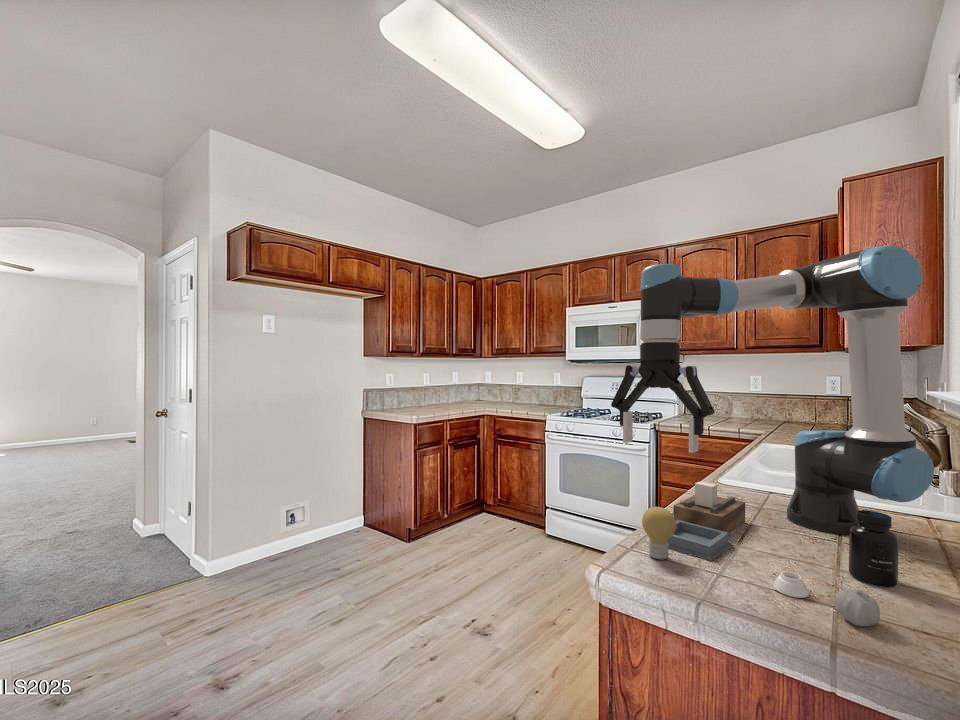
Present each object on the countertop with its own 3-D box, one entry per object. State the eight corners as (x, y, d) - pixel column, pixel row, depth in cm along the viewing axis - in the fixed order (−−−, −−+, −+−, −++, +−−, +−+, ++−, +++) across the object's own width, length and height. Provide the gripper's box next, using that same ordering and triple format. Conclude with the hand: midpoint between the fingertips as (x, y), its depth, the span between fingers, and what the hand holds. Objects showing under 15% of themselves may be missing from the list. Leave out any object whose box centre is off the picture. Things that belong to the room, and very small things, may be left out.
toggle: (716, 505, 108) (717, 484, 108) (712, 508, 106) (712, 486, 106) (699, 501, 111) (699, 481, 111) (694, 504, 109) (694, 483, 109)
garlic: (890, 637, 65) (890, 600, 65) (845, 629, 66) (845, 594, 67) (868, 614, 71) (868, 581, 71) (827, 608, 72) (827, 576, 72)
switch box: (745, 522, 112) (745, 498, 112) (722, 539, 101) (722, 512, 101) (699, 511, 120) (699, 489, 120) (673, 526, 109) (673, 501, 109)
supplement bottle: (881, 591, 78) (881, 521, 78) (839, 573, 85) (839, 509, 85) (908, 585, 80) (908, 518, 80) (865, 569, 87) (866, 506, 87)
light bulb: (679, 565, 87) (679, 513, 87) (644, 562, 88) (644, 511, 89) (671, 552, 93) (672, 504, 94) (639, 549, 95) (639, 501, 95)
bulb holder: (731, 544, 98) (731, 532, 98) (711, 561, 89) (711, 548, 89) (676, 529, 106) (676, 518, 106) (652, 543, 98) (653, 531, 98)
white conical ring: (813, 602, 74) (803, 588, 79) (813, 584, 74) (803, 571, 79) (777, 596, 76) (770, 583, 81) (777, 579, 76) (770, 566, 81)
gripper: (733, 341, 85) (732, 453, 85) (613, 344, 103) (612, 437, 103) (719, 339, 80) (718, 459, 80) (595, 342, 98) (594, 440, 98)
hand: (658, 446), depth 91 cm, fingers open, 13 cm apart
